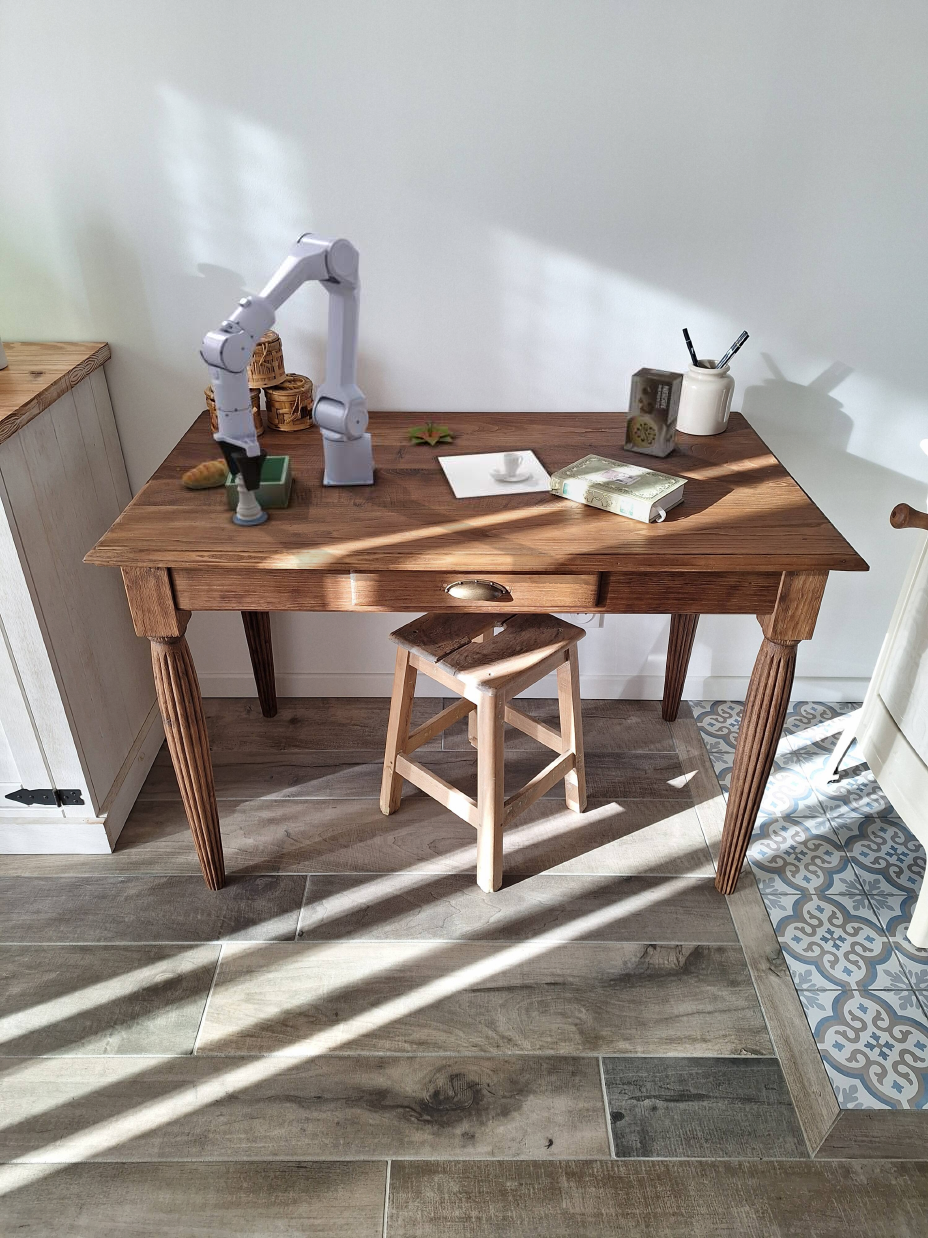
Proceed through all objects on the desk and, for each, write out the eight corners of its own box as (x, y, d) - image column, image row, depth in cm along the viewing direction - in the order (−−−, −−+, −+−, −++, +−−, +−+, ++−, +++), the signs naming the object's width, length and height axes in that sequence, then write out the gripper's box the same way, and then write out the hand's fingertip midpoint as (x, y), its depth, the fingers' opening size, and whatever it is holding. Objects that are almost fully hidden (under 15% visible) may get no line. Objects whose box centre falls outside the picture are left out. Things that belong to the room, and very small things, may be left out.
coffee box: (674, 448, 181) (685, 373, 172) (663, 458, 176) (674, 381, 168) (634, 439, 185) (643, 365, 176) (622, 449, 181) (631, 373, 172)
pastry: (191, 494, 160) (187, 475, 158) (176, 483, 165) (173, 464, 163) (237, 481, 165) (234, 463, 163) (221, 471, 170) (219, 453, 167)
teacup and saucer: (491, 485, 165) (492, 465, 162) (482, 468, 171) (483, 449, 169) (535, 481, 166) (536, 461, 164) (524, 465, 173) (525, 446, 170)
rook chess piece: (232, 515, 152) (226, 474, 148) (255, 508, 155) (249, 467, 150) (244, 524, 149) (237, 482, 145) (266, 517, 152) (261, 475, 147)
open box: (292, 479, 166) (289, 455, 164) (286, 507, 156) (283, 483, 153) (238, 480, 166) (234, 457, 163) (229, 509, 155) (225, 485, 152)
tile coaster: (268, 510, 155) (268, 508, 155) (265, 525, 150) (265, 523, 150) (235, 511, 154) (235, 509, 154) (230, 526, 149) (230, 524, 149)
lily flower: (453, 426, 191) (453, 406, 188) (460, 446, 181) (461, 426, 179) (400, 428, 190) (399, 409, 187) (404, 449, 180) (404, 428, 177)
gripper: (196, 397, 144) (208, 472, 151) (225, 423, 134) (237, 502, 141) (236, 390, 147) (246, 463, 155) (267, 415, 137) (277, 492, 145)
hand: (244, 481), depth 148 cm, fingers open, 7 cm apart
